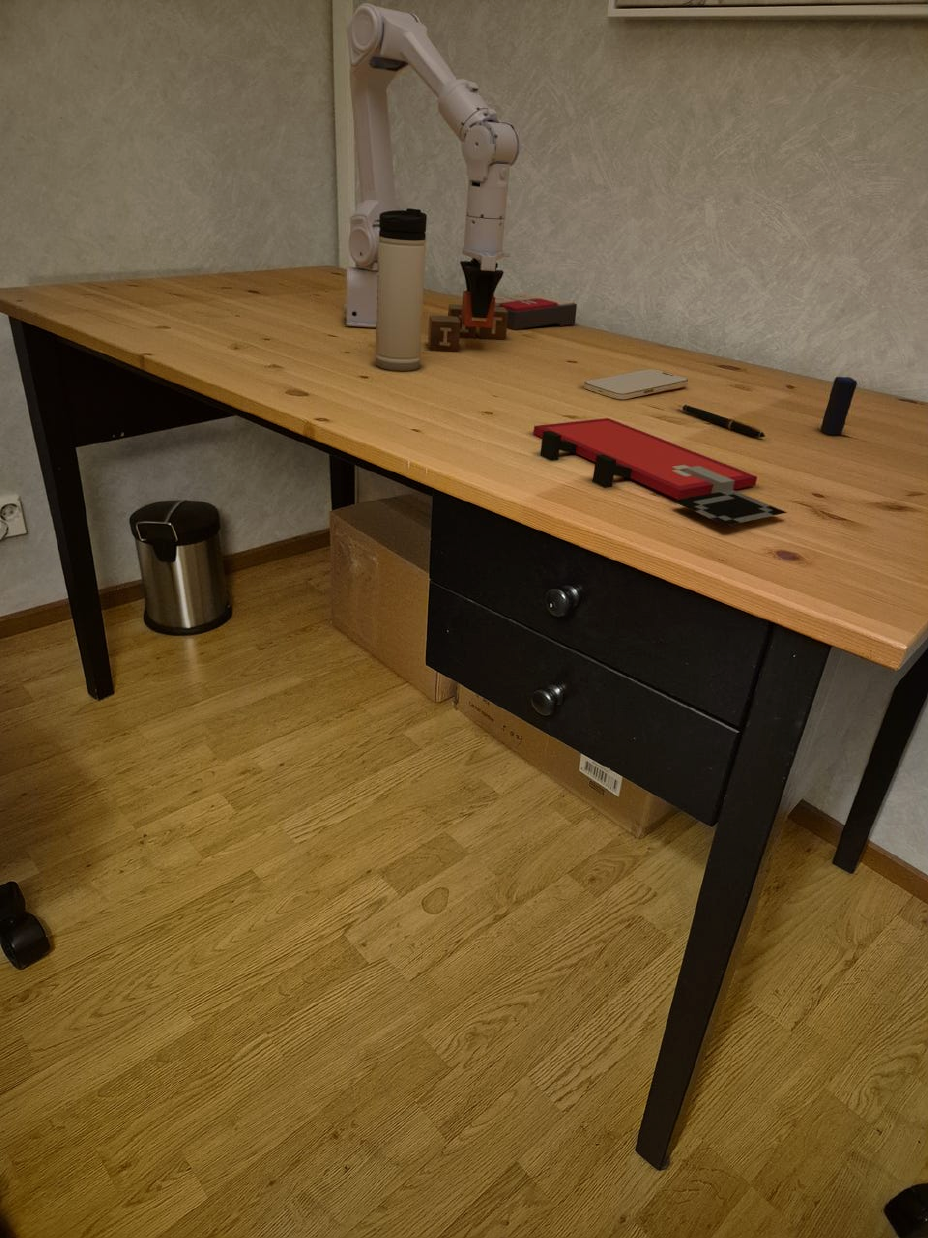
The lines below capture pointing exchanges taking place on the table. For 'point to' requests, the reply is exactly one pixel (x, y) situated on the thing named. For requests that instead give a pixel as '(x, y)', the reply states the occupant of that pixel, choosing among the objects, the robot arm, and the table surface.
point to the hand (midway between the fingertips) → (477, 314)
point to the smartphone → (635, 383)
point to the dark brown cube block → (464, 330)
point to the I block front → (444, 333)
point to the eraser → (838, 405)
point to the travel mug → (400, 289)
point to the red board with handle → (657, 467)
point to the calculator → (536, 310)
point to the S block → (467, 313)
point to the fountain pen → (725, 422)
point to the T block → (495, 326)
